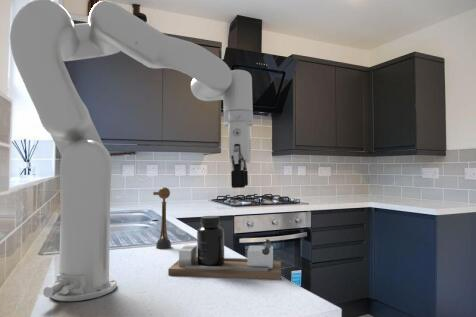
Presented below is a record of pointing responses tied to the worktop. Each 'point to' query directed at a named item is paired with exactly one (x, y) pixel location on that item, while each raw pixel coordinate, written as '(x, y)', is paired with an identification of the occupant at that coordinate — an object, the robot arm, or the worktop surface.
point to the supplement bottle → (210, 242)
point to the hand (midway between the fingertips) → (240, 186)
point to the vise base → (220, 267)
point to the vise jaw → (260, 256)
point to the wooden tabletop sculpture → (163, 220)
